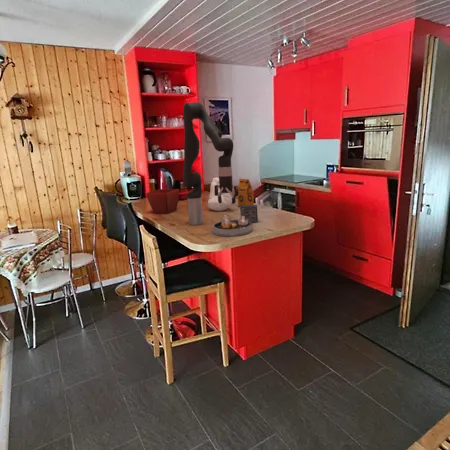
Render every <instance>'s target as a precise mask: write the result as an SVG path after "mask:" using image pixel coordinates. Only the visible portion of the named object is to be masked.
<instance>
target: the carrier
mask: <svg viewBox="0 0 450 450" xmlns="http://www.w3.org/2000/svg"><path fill="white" fill-rule="evenodd" d="M229 222H231V223H232V226H233V229H222V227H221V224H222V223H225V224H229ZM252 232H253V223H251V222H250V221H248V219H245V216H241V215H240V219H232V218H230V217H228V215H223V218H220V221H218V222H214V223H213V224H212V234H213V235H215V236H218V237H226V238H228V237H229V238H230V237H232V238H233V237H241V236H245V235H249V234H251V233H252Z"/></svg>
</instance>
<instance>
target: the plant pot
mask: <svg viewBox="0 0 450 450" xmlns="http://www.w3.org/2000/svg"><path fill="white" fill-rule="evenodd" d="M145 196H146V198H147V202H148V203H149V206H150V208H151V210H152V211H153V213H154V214H158V213H164V214H170V213H173V212H175V211H177V208H178V203H179V199H180V189H179V188H162V189H161V188H159V189H155V190H151V191H148V192H146V193H145Z"/></svg>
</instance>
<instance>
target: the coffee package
mask: <svg viewBox="0 0 450 450" xmlns="http://www.w3.org/2000/svg"><path fill="white" fill-rule="evenodd" d="M238 181H239V182H238V185H237V186H238V193H239V195H238V196H237V206H238V207H239V208H240V207H241V206H245V205H254V199H255V198H254V191H253V187H252V183H251V182H250V179H245V178H239V179H238Z"/></svg>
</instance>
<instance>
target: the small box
mask: <svg viewBox="0 0 450 450" xmlns="http://www.w3.org/2000/svg"><path fill="white" fill-rule="evenodd" d="M239 210H240V212H239V213H240V217H241V216H245V219H248V221H250V222H251V223H252V224H255V223H256V224H257V223H258V221H259V220H258V219H259V218H258V204H255V205H245V206H241V207H240V206H239Z"/></svg>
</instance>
